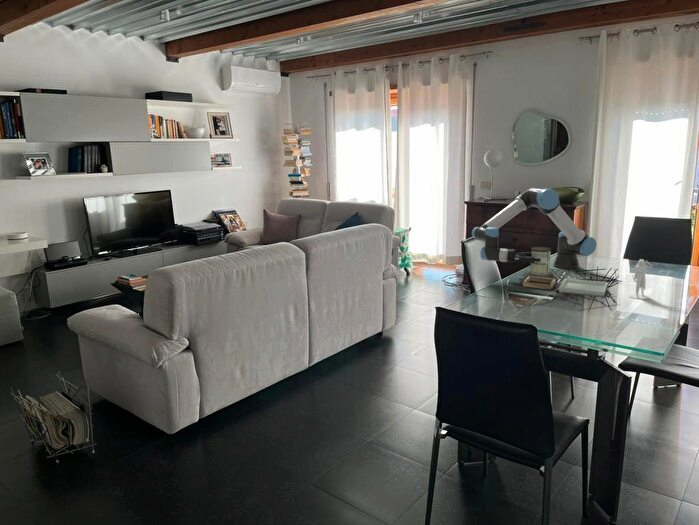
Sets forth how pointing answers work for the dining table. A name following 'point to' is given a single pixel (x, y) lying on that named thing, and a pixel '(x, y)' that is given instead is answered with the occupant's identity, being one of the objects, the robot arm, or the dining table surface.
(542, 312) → the dining table surface
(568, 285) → the tray
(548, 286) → the wooden frame
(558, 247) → the robot arm
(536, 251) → the coffee can
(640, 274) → the female figurine
